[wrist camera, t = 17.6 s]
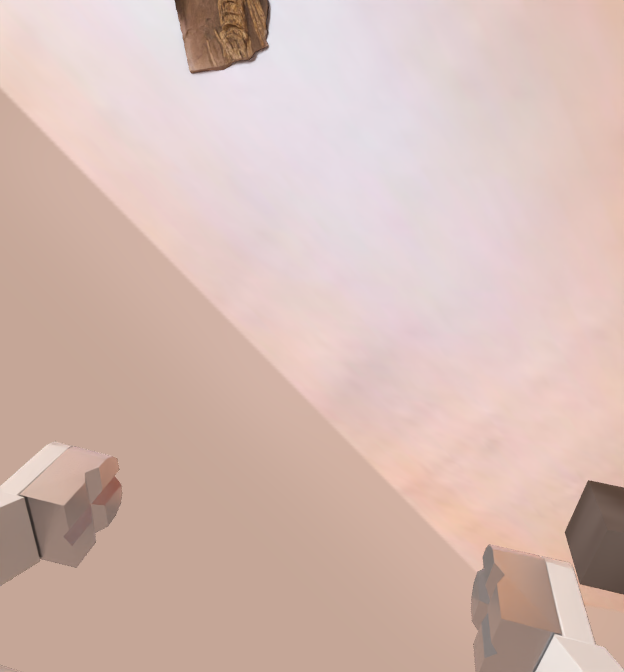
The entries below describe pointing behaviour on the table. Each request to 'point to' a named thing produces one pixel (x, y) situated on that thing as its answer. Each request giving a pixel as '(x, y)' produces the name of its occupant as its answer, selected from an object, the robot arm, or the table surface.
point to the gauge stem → (598, 537)
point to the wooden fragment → (221, 31)
